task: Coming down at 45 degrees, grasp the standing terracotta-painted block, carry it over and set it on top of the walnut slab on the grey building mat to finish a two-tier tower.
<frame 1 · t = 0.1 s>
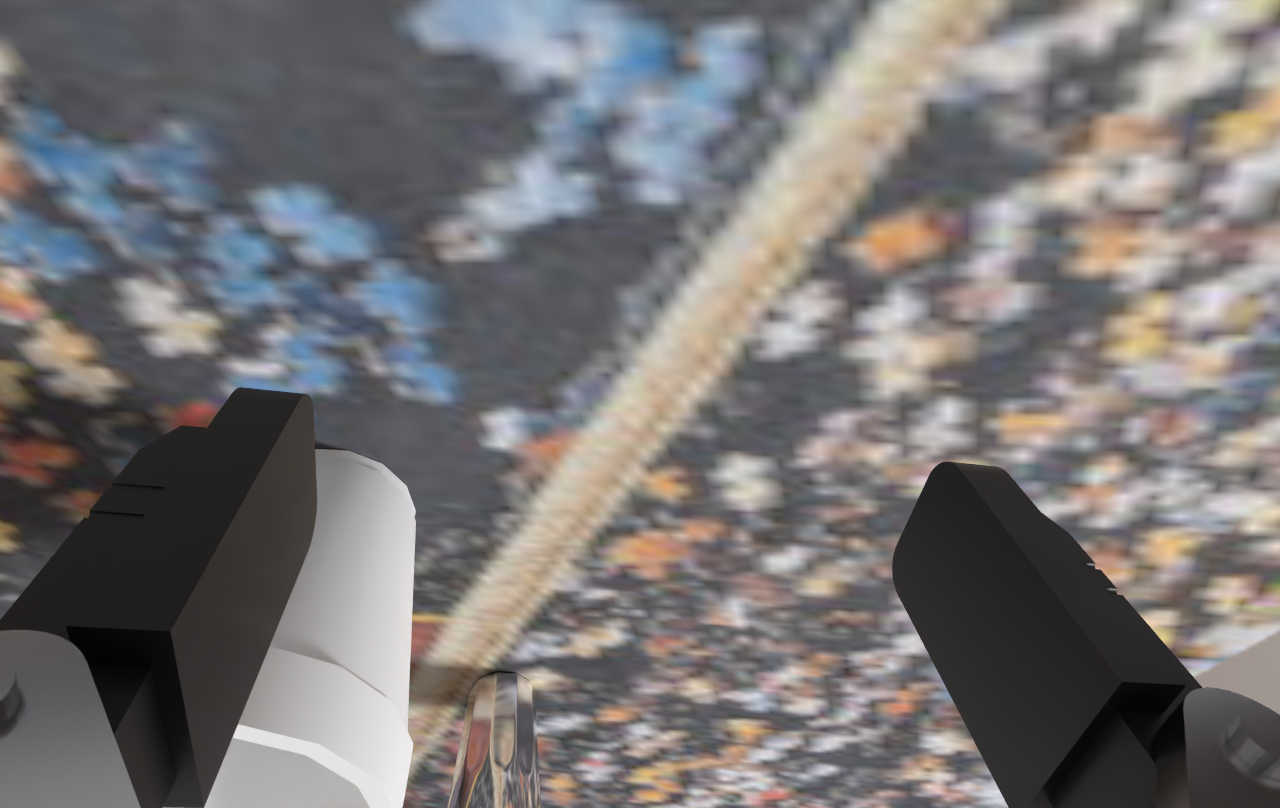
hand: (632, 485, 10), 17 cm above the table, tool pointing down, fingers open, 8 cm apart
foam cup: (338, 505, 32), on the table
milkshake: (504, 692, 39), on the table
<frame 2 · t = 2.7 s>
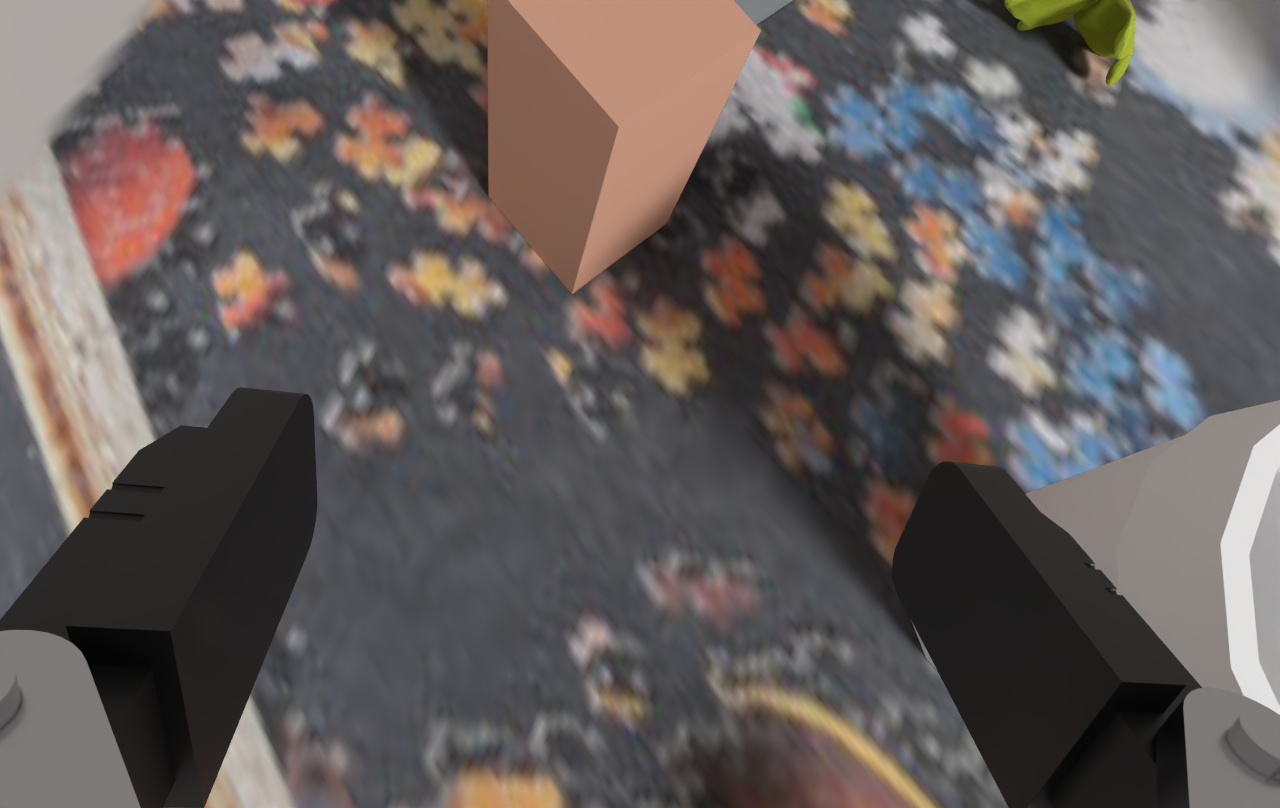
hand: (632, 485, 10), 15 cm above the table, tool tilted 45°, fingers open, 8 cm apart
foam cup: (988, 606, 27), on the table
tall block: (579, 210, 27), on the table
bird rattle: (1058, 8, 34), on the table
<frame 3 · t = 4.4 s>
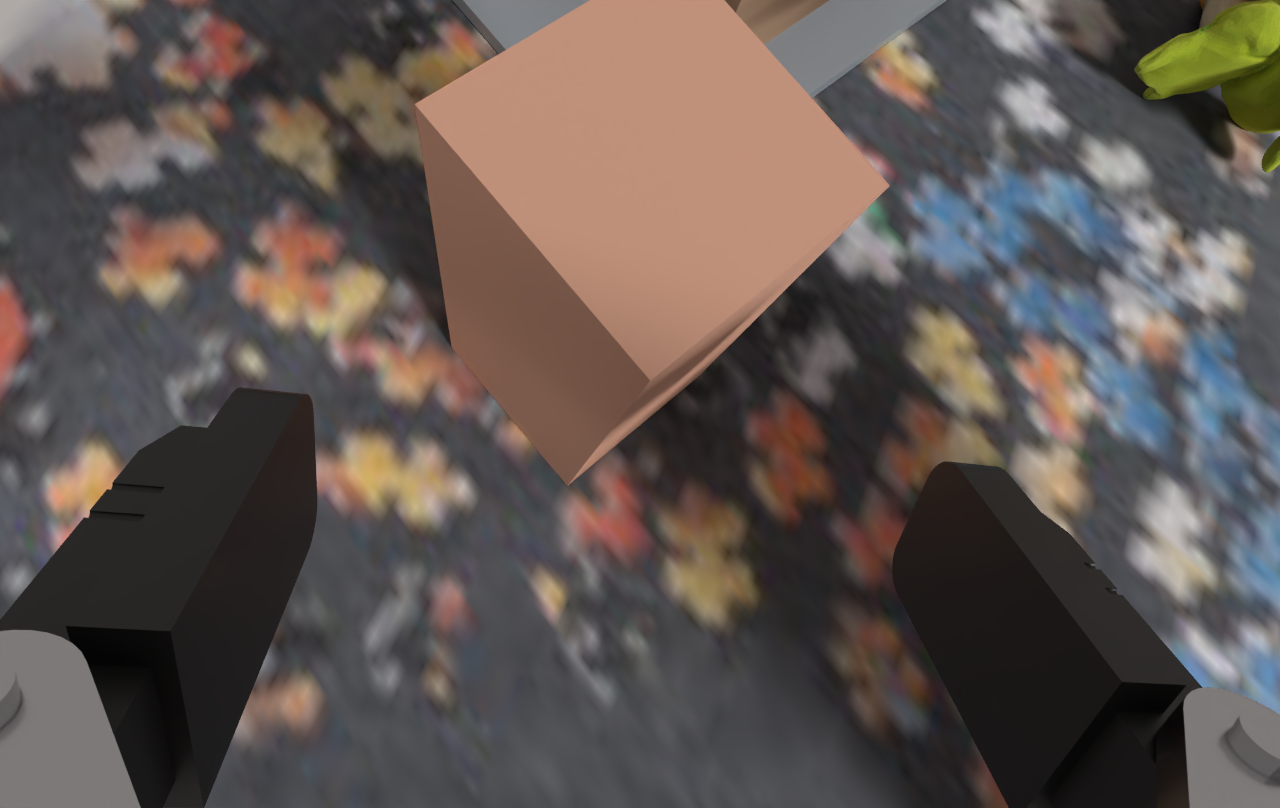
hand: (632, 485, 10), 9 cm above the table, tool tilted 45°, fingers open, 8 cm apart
tall block: (578, 362, 19), on the table
bird rattle: (1191, 68, 26), on the table
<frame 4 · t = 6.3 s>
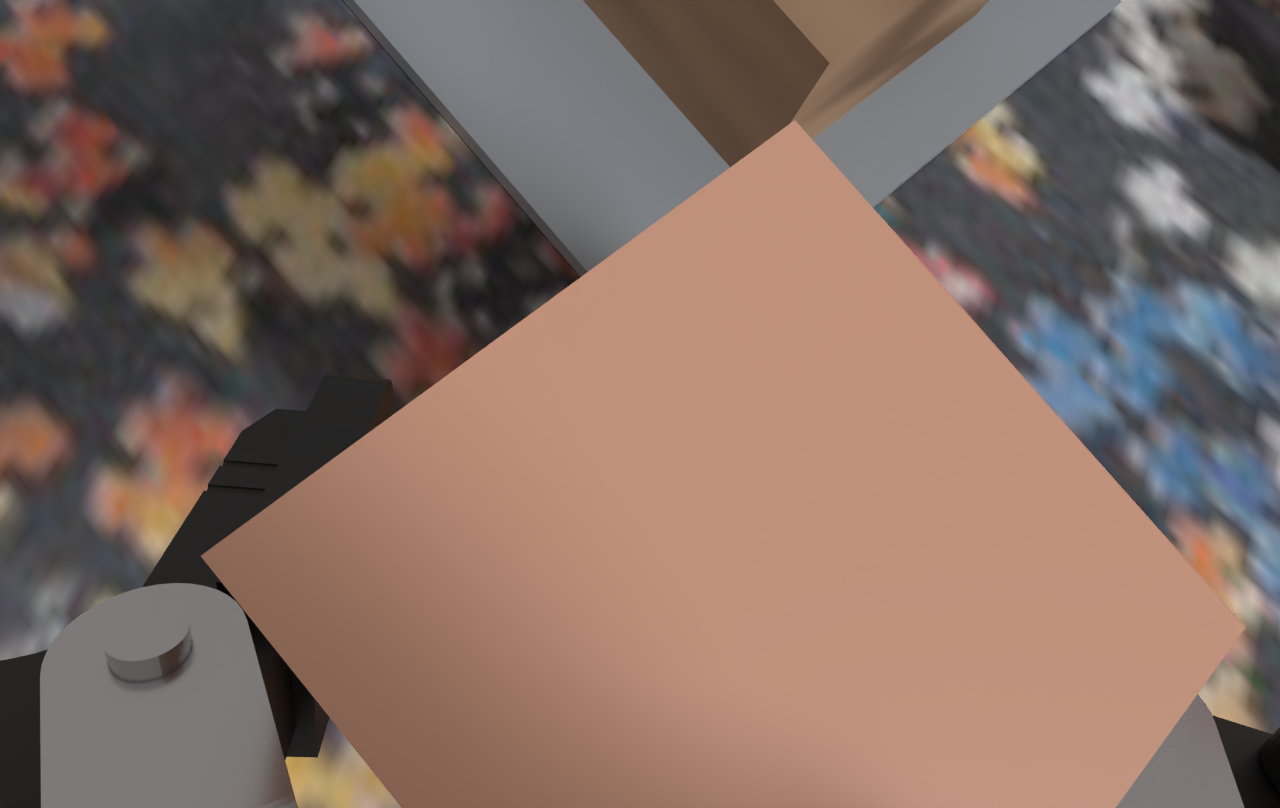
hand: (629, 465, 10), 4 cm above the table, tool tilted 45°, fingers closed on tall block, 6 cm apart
tall block: (582, 589, 14), on the table, touching gripper
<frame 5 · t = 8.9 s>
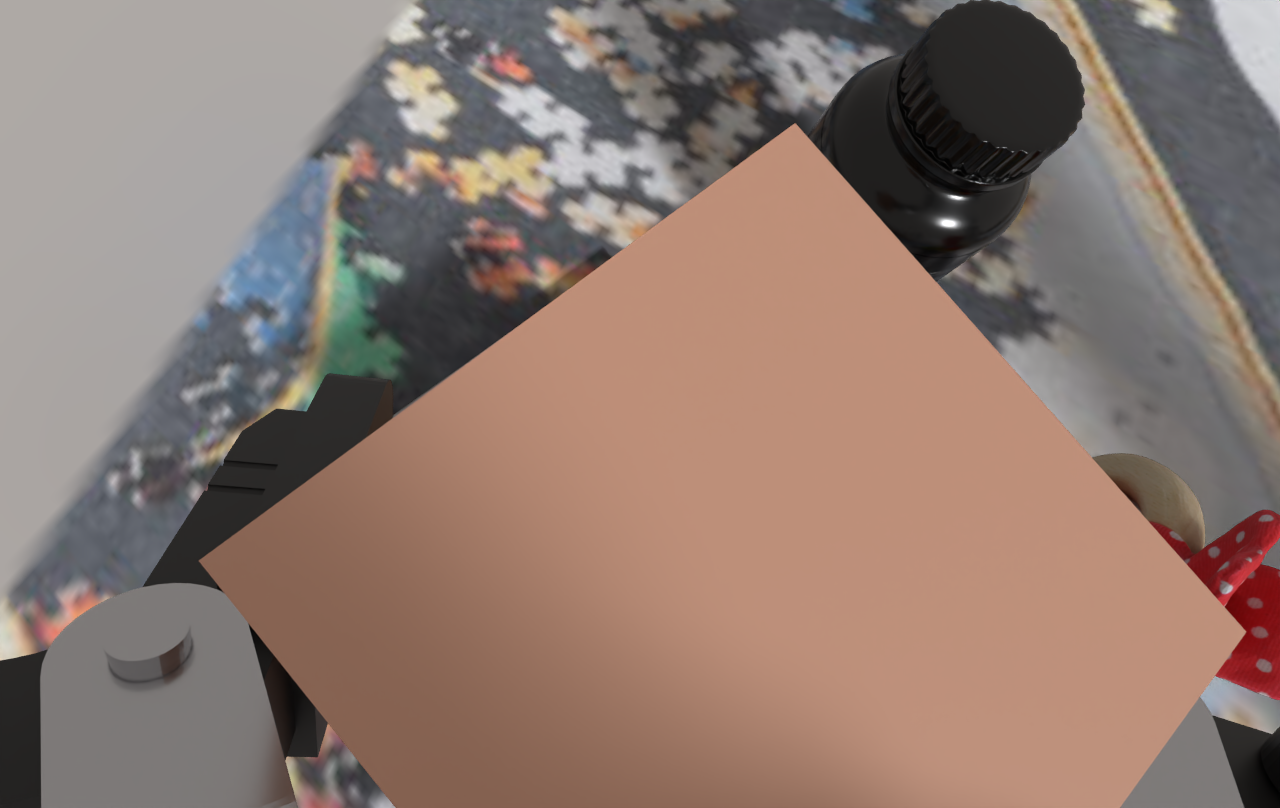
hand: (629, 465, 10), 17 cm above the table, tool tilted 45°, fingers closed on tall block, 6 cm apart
supplement bottle: (815, 264, 31), on the table
tall block: (582, 590, 14), point 13 cm above the table, touching gripper
bird rattle: (993, 574, 30), on the table
when the fingers open (10 cm above the table, at t = 11.5 s): tall block stays where it is, resting on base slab.
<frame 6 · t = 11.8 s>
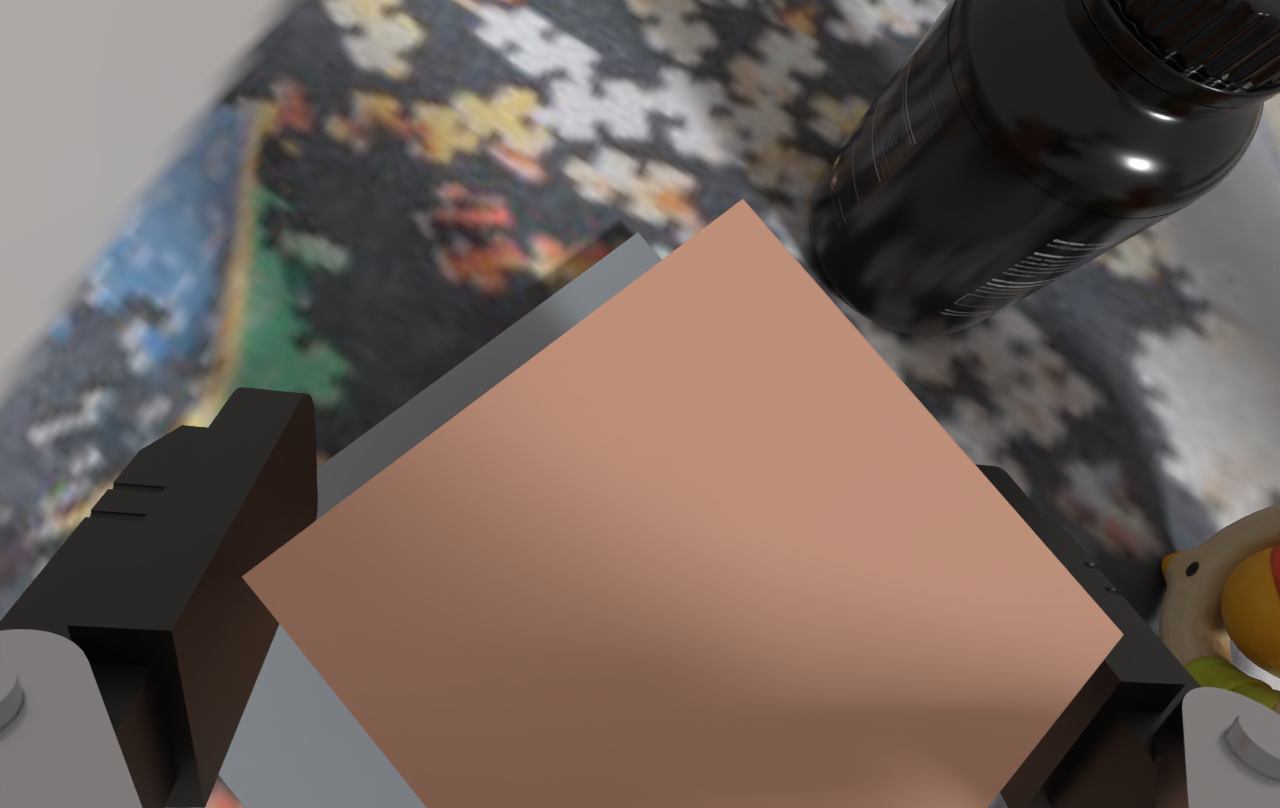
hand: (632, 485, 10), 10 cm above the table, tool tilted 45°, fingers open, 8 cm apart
building mat: (555, 589, 19), on the table
supplement bottle: (899, 241, 24), on the table
tall block: (572, 594, 15), point 4 cm above the table, touching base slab
bird rattle: (1150, 651, 22), on the table
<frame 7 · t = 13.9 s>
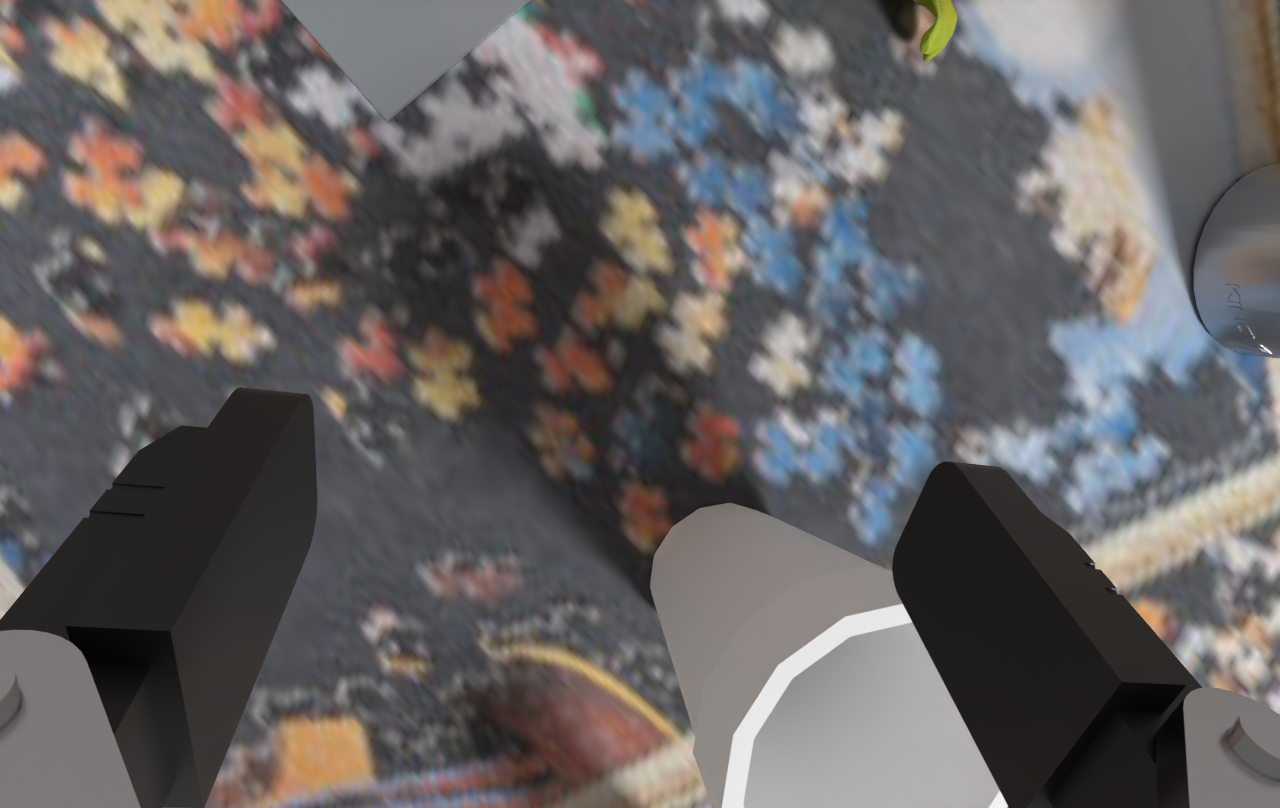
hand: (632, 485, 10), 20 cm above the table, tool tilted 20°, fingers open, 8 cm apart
foam cup: (718, 570, 33), on the table
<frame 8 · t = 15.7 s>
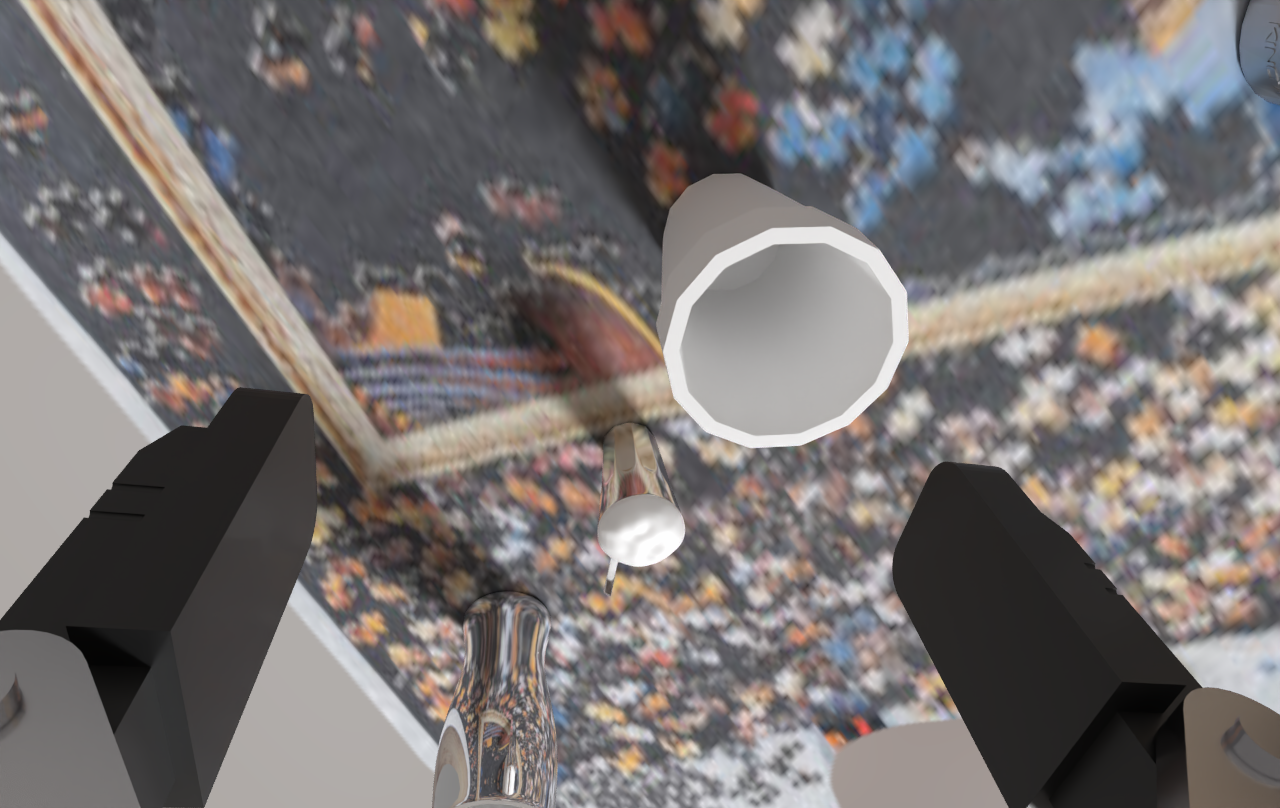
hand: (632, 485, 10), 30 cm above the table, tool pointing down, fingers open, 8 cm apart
foam cup: (722, 232, 40), on the table
beer glass: (507, 619, 53), on the table
milkshake: (624, 446, 46), on the table
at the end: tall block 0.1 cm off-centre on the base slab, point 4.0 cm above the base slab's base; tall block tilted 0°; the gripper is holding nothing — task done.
